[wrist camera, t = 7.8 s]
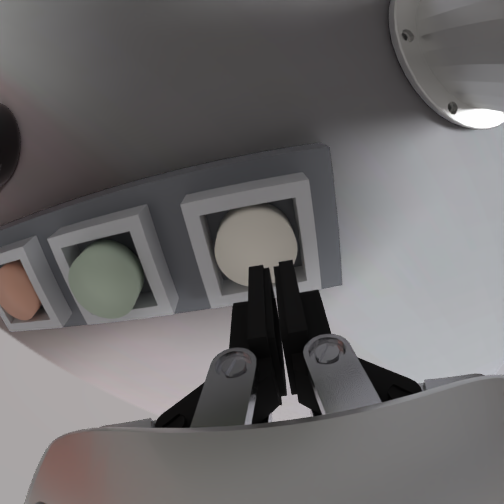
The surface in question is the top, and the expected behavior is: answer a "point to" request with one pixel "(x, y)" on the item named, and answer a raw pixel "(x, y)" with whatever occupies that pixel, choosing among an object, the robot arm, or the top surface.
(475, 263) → the top surface
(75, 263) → the sage button
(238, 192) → the button panel
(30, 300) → the terracotta button
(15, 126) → the supplement bottle
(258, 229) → the cream button
